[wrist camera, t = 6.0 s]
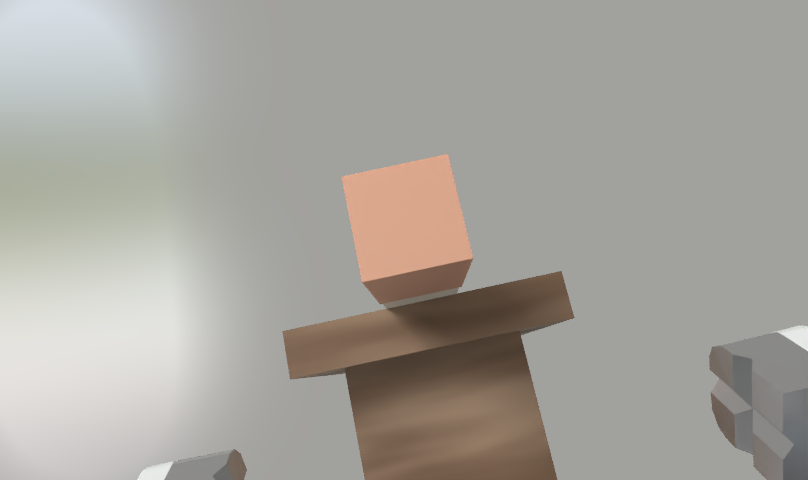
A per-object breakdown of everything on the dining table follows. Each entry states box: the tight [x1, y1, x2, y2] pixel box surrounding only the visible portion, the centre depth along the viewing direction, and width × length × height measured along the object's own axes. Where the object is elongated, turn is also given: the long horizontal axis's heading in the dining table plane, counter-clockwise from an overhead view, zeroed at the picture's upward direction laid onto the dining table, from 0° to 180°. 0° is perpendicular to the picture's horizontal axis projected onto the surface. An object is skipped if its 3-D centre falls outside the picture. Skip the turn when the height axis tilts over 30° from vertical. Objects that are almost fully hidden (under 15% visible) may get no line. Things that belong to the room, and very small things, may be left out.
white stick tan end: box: [342, 154, 473, 309], centre depth 28 cm, size 24×3×3 cm, turn 178°
